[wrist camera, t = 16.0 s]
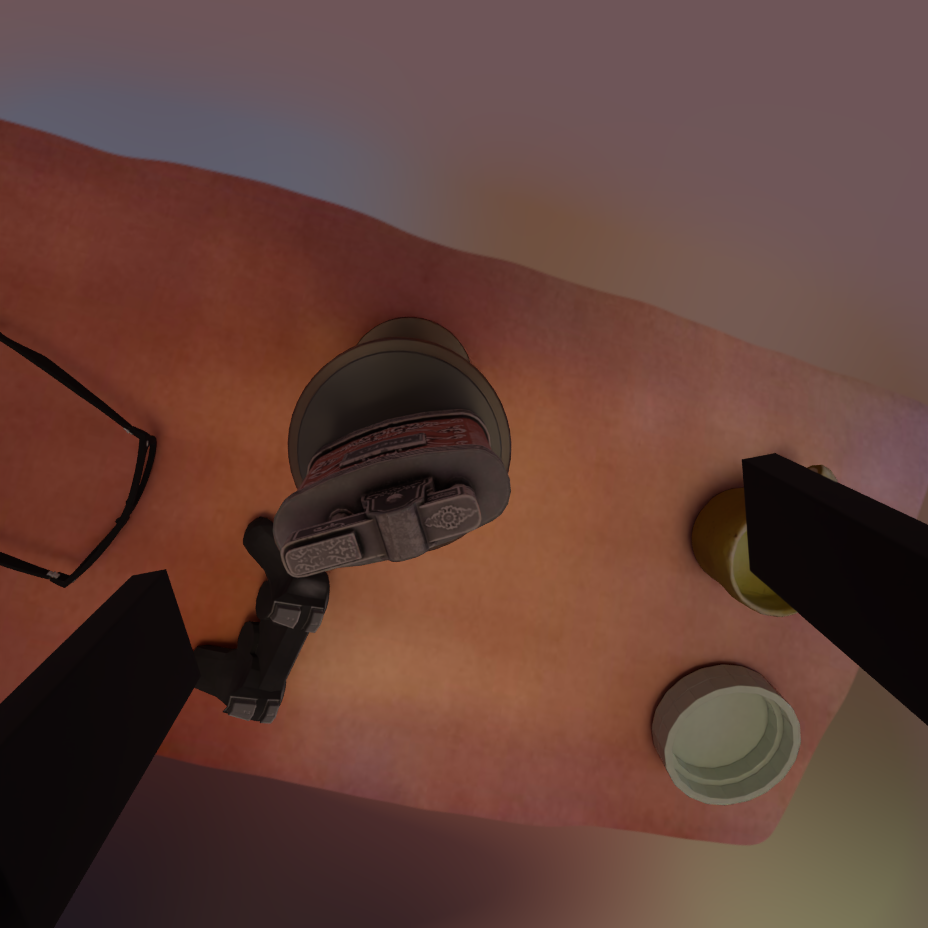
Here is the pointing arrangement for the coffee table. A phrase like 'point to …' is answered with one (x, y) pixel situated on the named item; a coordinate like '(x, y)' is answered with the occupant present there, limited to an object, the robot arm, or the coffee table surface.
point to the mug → (735, 550)
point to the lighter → (392, 493)
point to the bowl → (725, 734)
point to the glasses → (136, 489)
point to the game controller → (264, 635)
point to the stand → (392, 390)
